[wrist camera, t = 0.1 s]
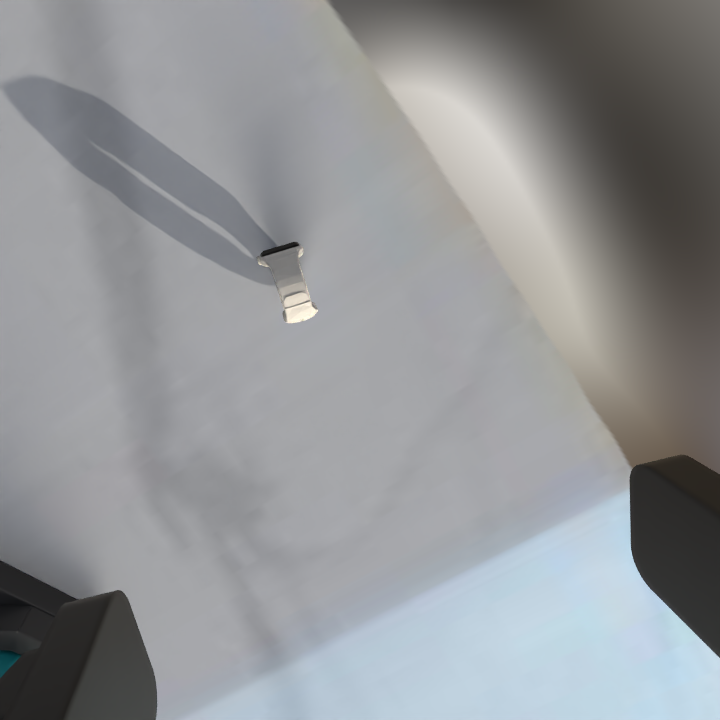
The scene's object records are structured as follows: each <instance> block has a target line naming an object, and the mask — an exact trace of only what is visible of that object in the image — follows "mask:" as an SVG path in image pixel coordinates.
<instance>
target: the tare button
mask: <svg viewBox="0 0 720 720" xmlns="http://www.w3.org/2000/svg"><path fill="white" fill-rule="evenodd" d="M21 656H22V655H20V654H17V653H15V652H13V651H9V650H0V678H1V677H2V676H3V675H4V674H5V672H6V671H7V670H8V669H9V668H10V667H11V666H12V665H13V664H14V663H15V662H16V661H17V660H18V659H19V658H20V657H21Z"/></svg>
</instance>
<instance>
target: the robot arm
mask: <svg viewBox="0 0 720 720" xmlns="http://www.w3.org/2000/svg"><path fill="white" fill-rule="evenodd" d="M630 520H631V550H632V555H633V559H634V562H635V565H636V567H637V569H638V571H639V573H640V575H641V577H642V578H643V580H644V581H645V583H646V584H647V585H648V586H649V587H650V589H651V590H652V591H653V592H654V593H655V594H656V595H657V596H658V597H659V598H660V599H661V600H662V601H663V602H664V603H665V604H666V605H667V606H668V607H669V608H670V609H671V610H672V611H673V612H674V613H675V614H676V615H677V616H678V617H679V618H680V619H681V620H682V621H683V622H684V623H685V624H686V625H687V626H688V627H689V628H690V629H691V630H692V631H693V632H694V633H695V634H696V635H697V636H698V637H699V638H700V639H701V640H702V641H703V642H704V643H705V644H706V645H707V646H708V647H709V648H710V649H711V650H712V651H713V652H714V653H715V654H716V655H717V656H718V657H719V658H720V474H718V473H716V472H715V471H713V470H711V469H709V468H708V467H706V466H704V465H703V464H701V463H699V462H697V461H696V460H694V459H693V458H691V457H689V456H686V455H677V456H673V457H669V458H665V459H661V460H657V461H652V462H648V463H644V464H640V465H636V466H635V467H634V468H633V469H632V471H631V474H630ZM156 713H157V689H156V681H155V676H154V672H153V668H152V665H151V663H150V660H149V657H148V654H147V651H146V648H145V646H144V643H143V640H142V637H141V634H140V632H139V629H138V626H137V623H136V620H135V617H134V615H133V612H132V609H131V606H130V603H129V601H128V599H127V597H126V595H125V594H124V593H123V592H122V591H120V590H117V591H113V592H109V593H105V594H101V595H97V596H93V597H89V598H84V599H80V600H76V601H72V602H68V603H65V604H63V605H62V606H61V607H60V609H59V610H58V612H57V614H56V616H55V618H54V620H53V622H52V624H51V626H50V628H49V630H48V632H47V634H46V636H45V637H44V639H43V641H42V643H41V645H40V647H39V648H38V649H34V650H30V651H26V652H24V653H23V654H22V656H21V657H20V658H19V659H18V660H17V661H16V662H15V663H14V664H13V665H12V666H11V667H10V668H9V669H8V670H7V671H6V672H5V674H4V675H3V676H2V677H1V678H0V720H156Z"/></svg>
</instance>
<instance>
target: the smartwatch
mask: <svg viewBox="0 0 720 720" xmlns="http://www.w3.org/2000/svg"><path fill="white" fill-rule="evenodd" d="M302 254H303V247H302V246H301V245H300V244H299V243H298V242H292V243H289V244H285V245H282V246H279V247H275V248H272V249H269V250H265V251H263V252H262V253H261V255H260V256H258V257H257V261H258V263H259V265H263V266H264V267H269V268H270V269H271V271H272V274H273V277H274V280H275V283H276V286H277V289H278V292H279V295H280V298H281V301H282V304H283V307H284V311H283V318H284V321H285V322H287V323H294V322H301V321H304V320H307V319H309V318H311V317H313V316H314V315H315V314H316V313H318V309H317V307H316V305H315V303H313V302H311V300H310V296H309V292H308V289H307V286H306V283H305V280H304V277H303V274H302V270H301V267H300V263H299V257H301V256H302Z"/></svg>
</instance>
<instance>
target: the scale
mask: <svg viewBox="0 0 720 720" xmlns="http://www.w3.org/2000/svg"><path fill="white" fill-rule="evenodd" d="M72 601H76V599H74V598H72V597H70V596H68V595H66V594H64V593H62V592H60V591H58V590H56V589H54V588H52V587H50V586H48V585H46V584H44V583H42V582H40V581H38V580H36V579H34V578H32V577H31V576H29V575H27V574H25V573H23V572H21V571H19V570H17V569H15V568H13V567H11V566H9V565H7V564H5V563H3V562H1V561H0V650H9V651H13V652H15V653H17V654H20V655H22V654H23V653H24V652H26V651H30V650H34V649H38V648H39V647H40V645H41V643H42V641H43V639H44V637H45V636H46V634H47V632H48V630H49V628H50V626H51V624H52V622H53V620H54V618H55V616H56V614H57V612H58V610H59V609H60V607H61V606H62V605H63V604H65V603H68V602H72Z"/></svg>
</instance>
